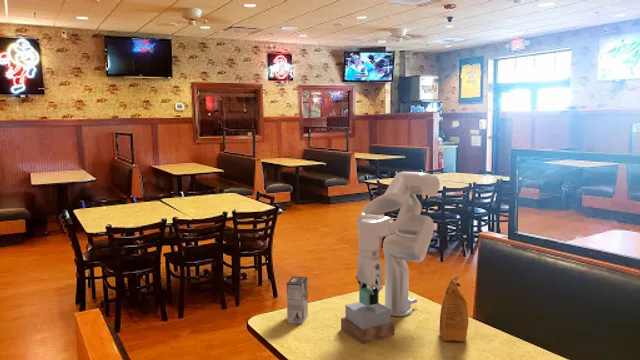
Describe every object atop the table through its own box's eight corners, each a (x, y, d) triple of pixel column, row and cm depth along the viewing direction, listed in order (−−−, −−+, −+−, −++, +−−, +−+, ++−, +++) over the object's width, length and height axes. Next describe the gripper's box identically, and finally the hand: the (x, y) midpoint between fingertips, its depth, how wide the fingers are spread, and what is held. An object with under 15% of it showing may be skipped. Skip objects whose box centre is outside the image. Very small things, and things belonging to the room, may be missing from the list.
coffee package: (467, 330, 182) (469, 273, 179) (468, 345, 170) (469, 284, 167) (439, 327, 184) (441, 270, 182) (438, 341, 173) (440, 281, 170)
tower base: (370, 322, 191) (370, 310, 190) (394, 335, 179) (394, 322, 178) (341, 330, 183) (341, 318, 183) (363, 345, 171) (363, 331, 171)
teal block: (370, 299, 183) (370, 286, 182) (378, 303, 179) (378, 290, 178) (359, 302, 180) (359, 289, 179) (367, 306, 176) (367, 293, 175)
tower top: (372, 311, 189) (372, 299, 188) (390, 323, 178) (390, 309, 177) (345, 317, 183) (345, 304, 182) (362, 329, 173) (362, 316, 172)
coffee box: (292, 313, 198) (292, 275, 197) (308, 315, 197) (307, 276, 195) (286, 323, 190) (286, 283, 188) (303, 324, 188) (302, 284, 186)
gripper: (392, 257, 172) (391, 306, 174) (363, 246, 186) (363, 292, 188) (375, 260, 168) (375, 311, 170) (347, 249, 182) (347, 296, 184)
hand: (368, 301), depth 179 cm, fingers closed on teal block, 4 cm apart
